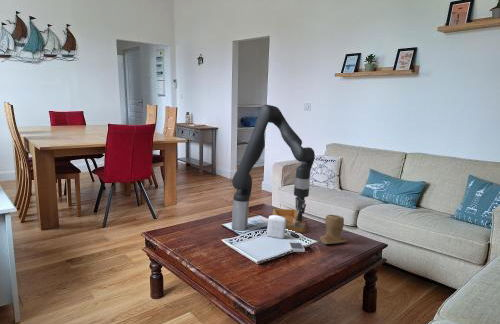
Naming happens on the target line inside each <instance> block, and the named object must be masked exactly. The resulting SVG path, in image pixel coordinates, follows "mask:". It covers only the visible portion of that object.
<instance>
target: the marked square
mask: <svg viewBox="0 0 500 324" xmlns="http://www.w3.org/2000/svg"><path fill="white" fill-rule="evenodd" d="M313 247H316V249H317V251H316V253H321V252H322V251H320V249H319V247H318V246H317V245H313ZM304 253H307V251H306V249H305V251H304Z"/></svg>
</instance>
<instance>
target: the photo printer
mask: <svg viewBox="0 0 500 324" xmlns="http://www.w3.org/2000/svg"><path fill="white" fill-rule="evenodd" d="M285 228H286V218H284V217H281V216H278V215H273V214H272V215H269V216H268V220H267V228H266V229H267V230H266V236H267V237H271V238H276V239H283V238H284V239H285V237H286V236H285V235H286V232H285ZM284 239H283V240H284Z"/></svg>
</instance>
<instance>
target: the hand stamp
mask: <svg viewBox="0 0 500 324" xmlns="http://www.w3.org/2000/svg"><path fill="white" fill-rule="evenodd" d="M301 211H302V210H301ZM293 224H294V226H297V227H304V224H305V225H306V223H305V220H304V219H303V218H302V220H301V221H298V210H297V214H296V219H294V218H293Z"/></svg>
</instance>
